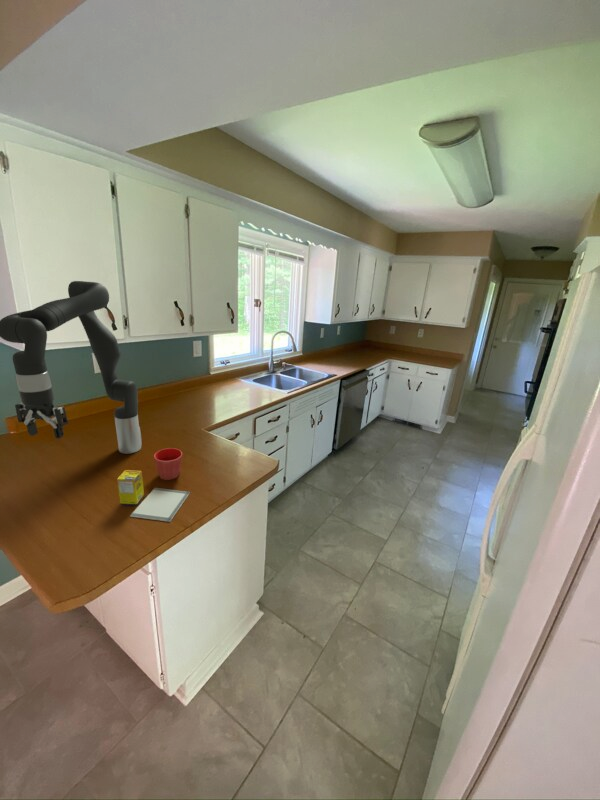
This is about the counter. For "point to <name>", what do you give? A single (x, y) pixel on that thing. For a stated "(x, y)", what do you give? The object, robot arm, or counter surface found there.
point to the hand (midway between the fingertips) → (46, 436)
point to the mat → (161, 504)
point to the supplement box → (130, 487)
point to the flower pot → (168, 463)
